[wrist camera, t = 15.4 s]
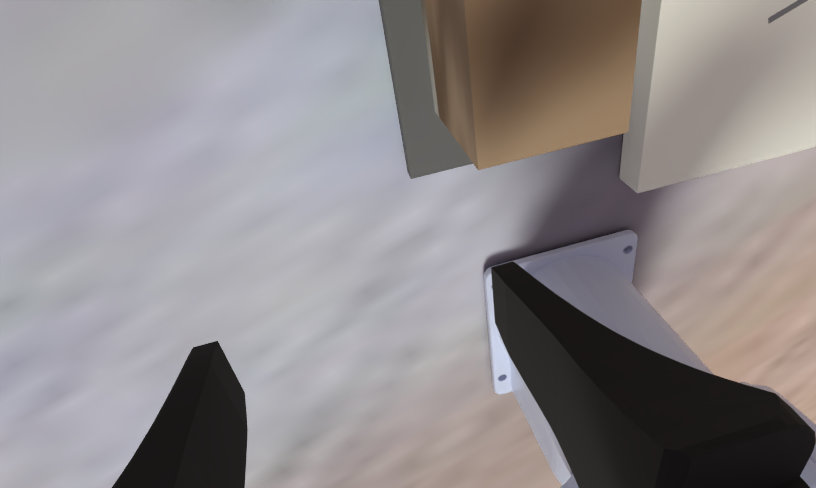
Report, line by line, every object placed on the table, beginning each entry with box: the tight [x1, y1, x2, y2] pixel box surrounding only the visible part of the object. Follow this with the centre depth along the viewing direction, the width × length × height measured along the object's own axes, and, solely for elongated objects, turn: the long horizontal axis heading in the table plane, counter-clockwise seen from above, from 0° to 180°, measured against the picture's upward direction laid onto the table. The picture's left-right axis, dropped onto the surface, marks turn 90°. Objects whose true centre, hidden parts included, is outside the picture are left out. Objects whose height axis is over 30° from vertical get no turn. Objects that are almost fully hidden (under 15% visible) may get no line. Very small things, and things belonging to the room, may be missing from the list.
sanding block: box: [421, 0, 642, 170], centre depth 17 cm, size 7×5×5 cm
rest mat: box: [379, 0, 473, 179], centre depth 19 cm, size 12×8×1 cm, turn 9°
